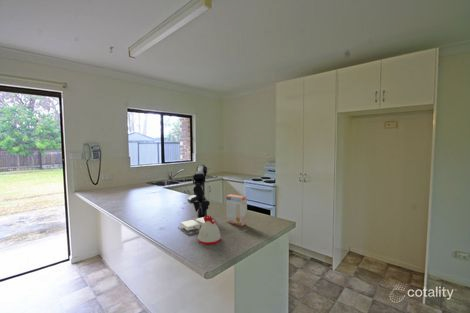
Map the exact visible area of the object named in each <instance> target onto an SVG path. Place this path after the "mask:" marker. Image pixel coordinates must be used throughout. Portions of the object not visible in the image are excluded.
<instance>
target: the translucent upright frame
mask: <svg viewBox="0 0 470 313" xmlns="http://www.w3.org/2000/svg"><path fill="white" fill-rule="evenodd" d="M246 198H247V197H246V196H245V195H238V194H231V193H230V194H227V195H226V223H229V224H233V225H237V226H239V227H243V226H245V225H247V224H246V223H247V221H246V217H247V216H246V215H247V208H246V206H247V205H246V204H247V202H246V200H247V199H246Z"/></svg>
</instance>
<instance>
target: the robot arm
mask: <svg viewBox="0 0 470 313" xmlns="http://www.w3.org/2000/svg"><path fill="white" fill-rule="evenodd" d="M207 174H208V167H207V166H206V165H205V164H198V165H197V166H196V171H195V172H194V174H193V175H192V176H193V177H192V184H193V185H194V187H193V194H192V195H190V196H189V197H187V198H186V200H187V203H189V204H192V205H193V208H194V210H195V212H197V214H196V215H197V217H198V218H202V217H205V216H207V217H208V214H207V211H208V210H209V206H210V201H209V200H207V198H206V196H205V195H206V194H205V193H206V192H205V191H206V190H205V189H206V186H205V184H206V179H207V178H206V177H207Z"/></svg>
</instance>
